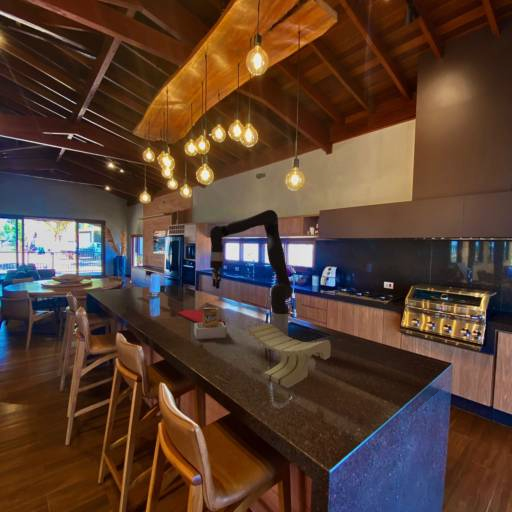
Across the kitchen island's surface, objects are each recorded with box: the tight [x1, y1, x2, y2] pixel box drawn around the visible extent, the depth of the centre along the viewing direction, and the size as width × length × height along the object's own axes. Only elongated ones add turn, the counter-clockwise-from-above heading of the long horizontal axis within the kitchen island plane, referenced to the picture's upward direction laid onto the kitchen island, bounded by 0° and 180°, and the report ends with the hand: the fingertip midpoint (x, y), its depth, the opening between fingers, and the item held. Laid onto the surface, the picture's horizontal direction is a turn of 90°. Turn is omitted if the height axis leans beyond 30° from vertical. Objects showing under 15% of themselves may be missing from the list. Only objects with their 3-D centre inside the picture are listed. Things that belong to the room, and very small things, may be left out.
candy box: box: [202, 306, 220, 328], centre depth 161 cm, size 9×4×15 cm, turn 97°
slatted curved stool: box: [248, 323, 332, 389], centre depth 114 cm, size 30×16×18 cm, turn 47°
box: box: [193, 322, 228, 341], centre depth 161 cm, size 12×17×6 cm
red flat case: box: [177, 309, 226, 325], centre depth 197 cm, size 16×41×4 cm, turn 40°
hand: (215, 287), depth 162 cm, fingers open, 8 cm apart
